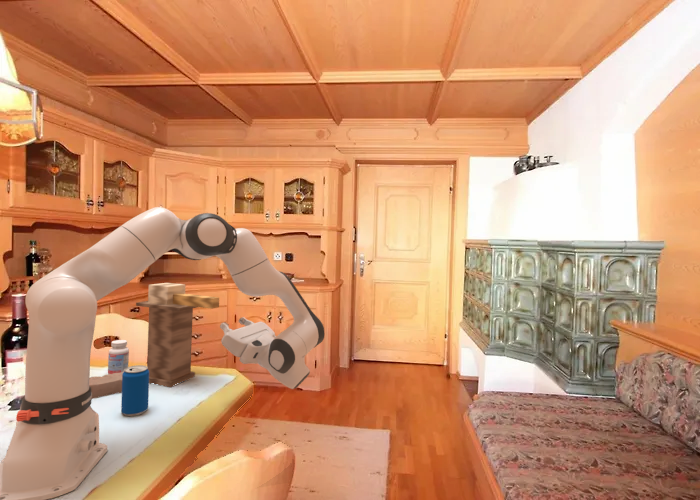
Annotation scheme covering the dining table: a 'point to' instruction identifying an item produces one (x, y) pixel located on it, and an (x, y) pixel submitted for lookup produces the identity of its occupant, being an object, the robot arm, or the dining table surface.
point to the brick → (106, 384)
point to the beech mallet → (178, 296)
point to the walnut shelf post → (169, 343)
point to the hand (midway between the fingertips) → (231, 321)
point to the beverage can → (135, 390)
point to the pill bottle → (118, 357)
